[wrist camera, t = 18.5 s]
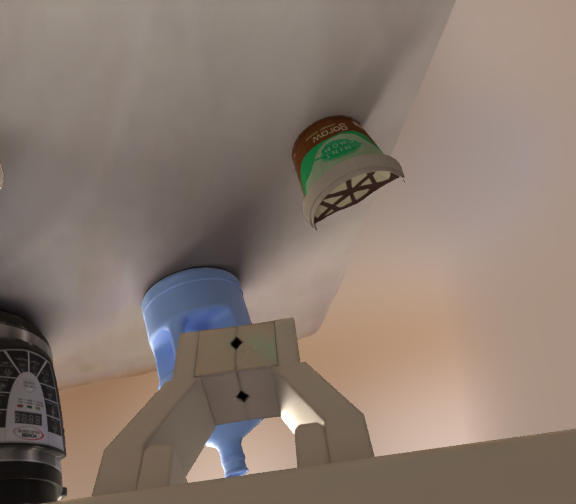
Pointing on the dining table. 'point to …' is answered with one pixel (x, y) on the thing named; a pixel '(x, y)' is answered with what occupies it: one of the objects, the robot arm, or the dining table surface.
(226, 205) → the dining table surface
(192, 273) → the water jug
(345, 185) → the food container
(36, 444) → the pressure cooker
